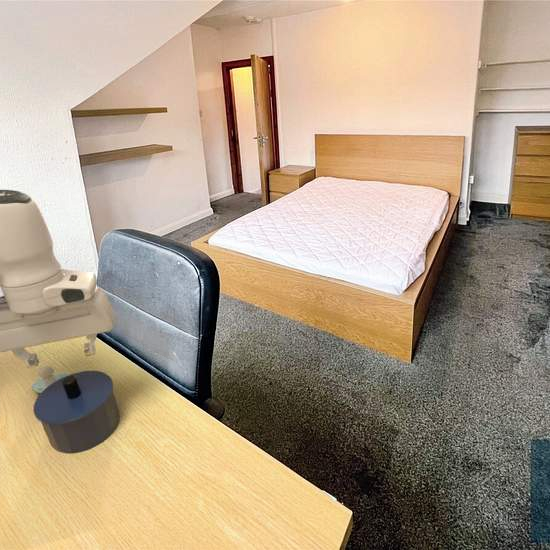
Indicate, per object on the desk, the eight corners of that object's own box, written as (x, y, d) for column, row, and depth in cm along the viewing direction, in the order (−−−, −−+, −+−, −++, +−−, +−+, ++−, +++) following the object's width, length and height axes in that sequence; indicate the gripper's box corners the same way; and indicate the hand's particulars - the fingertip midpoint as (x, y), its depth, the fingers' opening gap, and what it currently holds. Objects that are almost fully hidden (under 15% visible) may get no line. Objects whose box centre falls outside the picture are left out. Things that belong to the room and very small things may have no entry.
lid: (26, 435, 69) (16, 415, 67) (45, 383, 80) (37, 364, 78) (110, 416, 71) (104, 396, 69) (117, 368, 83) (111, 350, 81)
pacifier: (34, 384, 91) (34, 400, 86) (24, 362, 89) (24, 376, 84) (69, 373, 94) (71, 387, 89) (61, 350, 92) (63, 364, 87)
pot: (42, 461, 72) (28, 430, 69) (57, 410, 83) (46, 382, 80) (117, 443, 75) (107, 412, 71) (122, 396, 86) (113, 368, 82)
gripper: (-44, 312, 61) (-9, 384, 67) (100, 287, 65) (120, 357, 71) (-28, 293, 66) (4, 361, 73) (104, 271, 71) (123, 337, 77)
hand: (62, 359), depth 72 cm, fingers open, 8 cm apart
